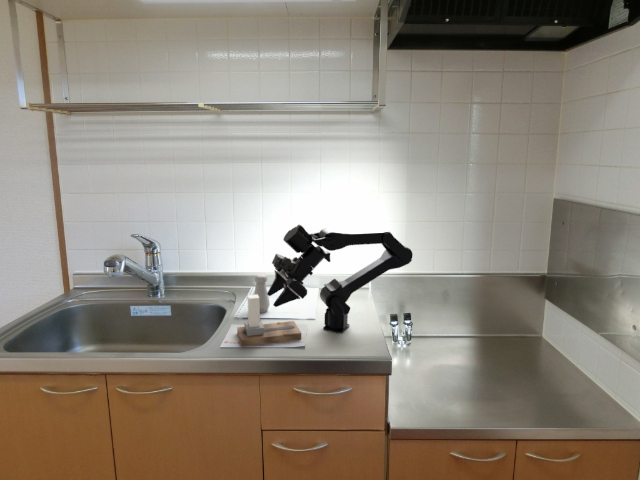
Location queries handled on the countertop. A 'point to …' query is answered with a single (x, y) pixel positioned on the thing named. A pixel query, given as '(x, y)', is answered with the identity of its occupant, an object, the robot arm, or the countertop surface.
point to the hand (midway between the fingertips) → (271, 300)
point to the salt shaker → (262, 292)
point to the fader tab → (253, 317)
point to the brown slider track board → (271, 334)
